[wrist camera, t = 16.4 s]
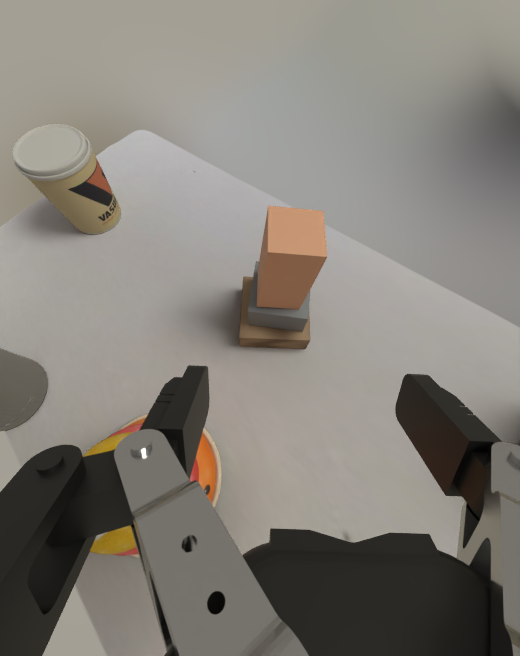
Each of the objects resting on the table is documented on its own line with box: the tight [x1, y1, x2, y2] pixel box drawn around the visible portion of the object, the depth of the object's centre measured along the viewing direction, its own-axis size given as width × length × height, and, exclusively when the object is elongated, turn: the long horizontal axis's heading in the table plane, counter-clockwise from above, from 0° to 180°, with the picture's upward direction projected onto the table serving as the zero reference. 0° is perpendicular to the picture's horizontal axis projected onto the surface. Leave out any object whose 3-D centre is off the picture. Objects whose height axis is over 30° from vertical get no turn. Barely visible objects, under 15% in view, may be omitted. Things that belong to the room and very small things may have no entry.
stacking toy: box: [83, 413, 222, 558], centre depth 23 cm, size 14×14×20 cm
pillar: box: [257, 206, 327, 309], centre depth 29 cm, size 5×5×10 cm
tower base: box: [239, 277, 310, 349], centre depth 39 cm, size 9×9×4 cm
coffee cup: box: [13, 124, 121, 234], centre depth 41 cm, size 9×9×12 cm
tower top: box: [248, 261, 310, 332], centre depth 35 cm, size 7×7×4 cm
